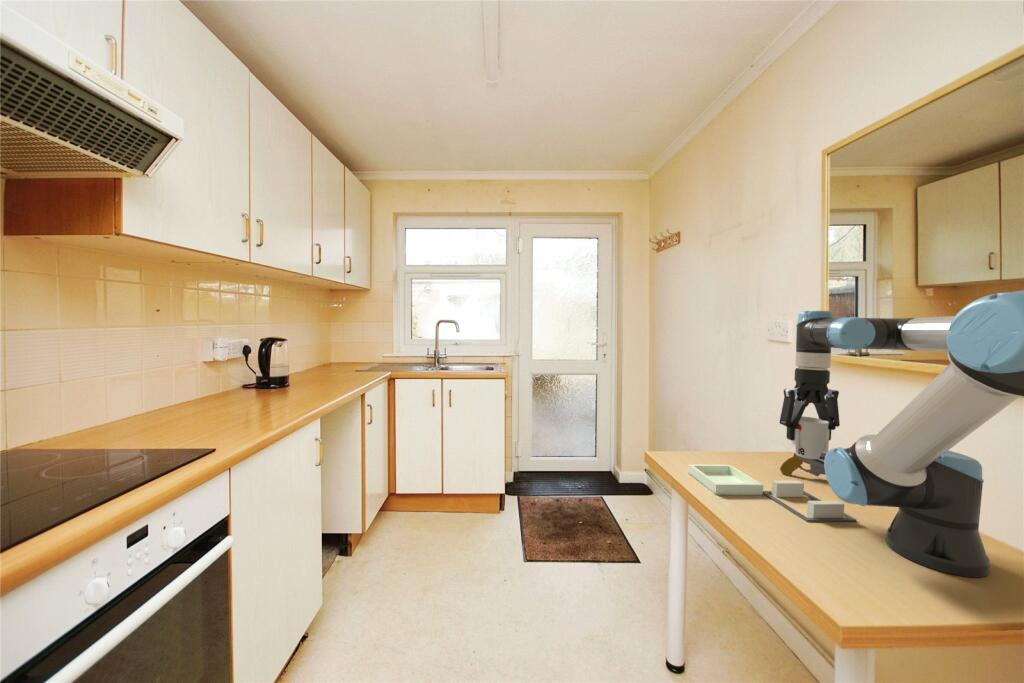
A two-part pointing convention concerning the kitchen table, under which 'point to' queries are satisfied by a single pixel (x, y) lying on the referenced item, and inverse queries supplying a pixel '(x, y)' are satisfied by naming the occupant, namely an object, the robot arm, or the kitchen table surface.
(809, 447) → the cup
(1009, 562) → the kitchen table surface
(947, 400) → the robot arm
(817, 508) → the holder
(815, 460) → the gun
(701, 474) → the tray
